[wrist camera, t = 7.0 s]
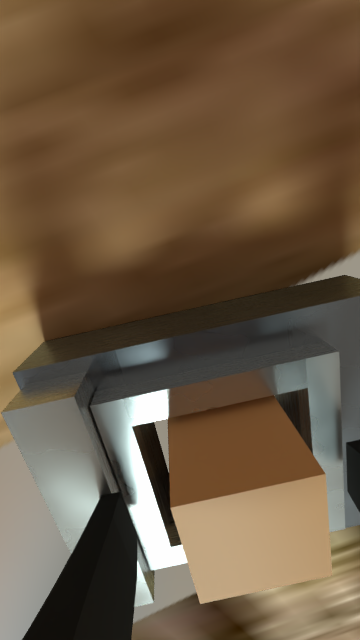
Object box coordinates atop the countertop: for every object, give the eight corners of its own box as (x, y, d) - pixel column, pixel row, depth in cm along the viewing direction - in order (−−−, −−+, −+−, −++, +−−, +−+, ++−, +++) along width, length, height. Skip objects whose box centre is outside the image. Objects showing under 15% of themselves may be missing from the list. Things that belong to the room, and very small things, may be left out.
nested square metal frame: (115, 520, 14) (99, 623, 11) (44, 341, 11) (-15, 398, 7) (349, 470, 14) (415, 555, 11) (344, 274, 11) (436, 299, 7)
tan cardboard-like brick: (183, 439, 13) (200, 603, 7) (166, 374, 12) (170, 508, 6) (257, 423, 13) (332, 575, 7) (247, 355, 12) (326, 473, 6)
